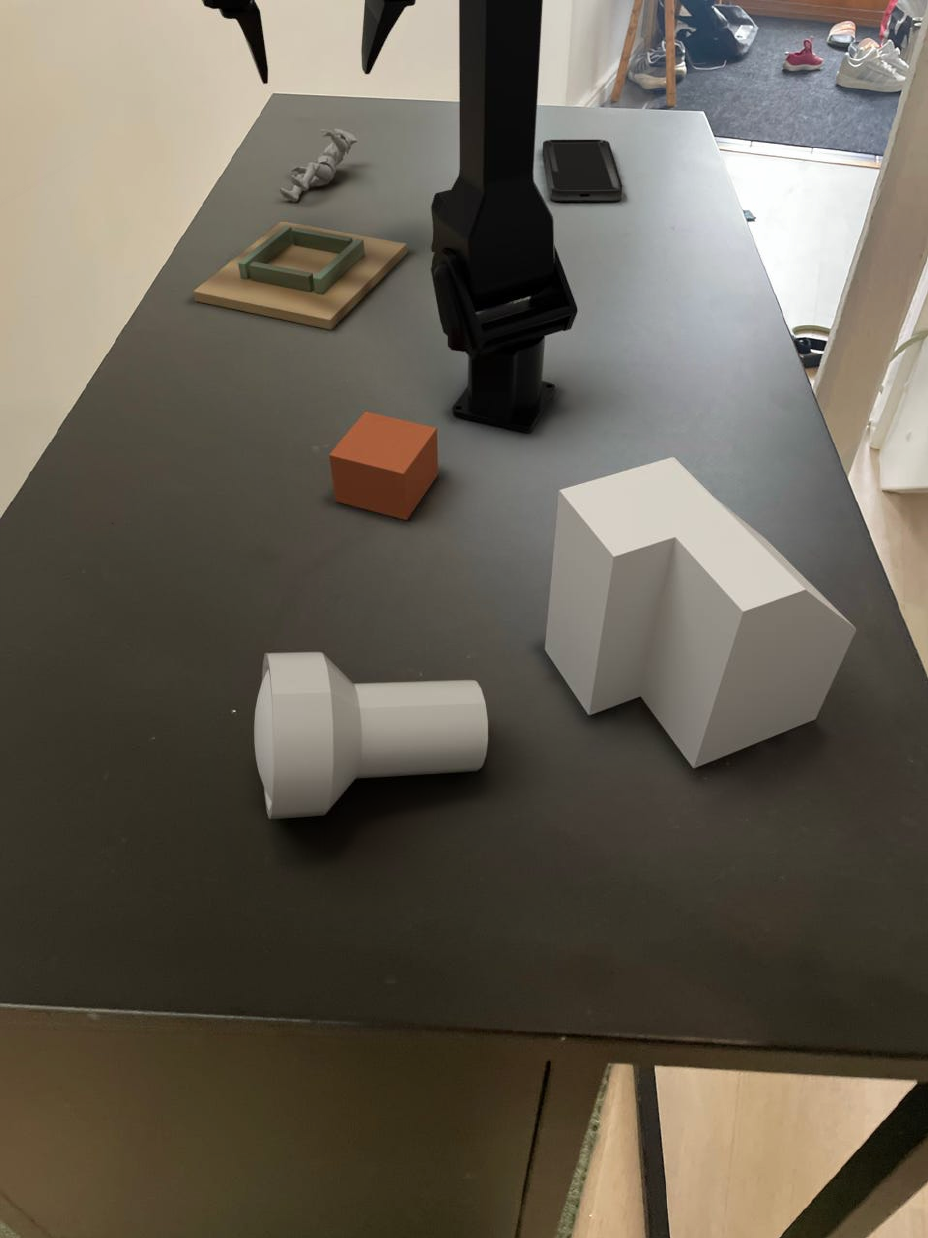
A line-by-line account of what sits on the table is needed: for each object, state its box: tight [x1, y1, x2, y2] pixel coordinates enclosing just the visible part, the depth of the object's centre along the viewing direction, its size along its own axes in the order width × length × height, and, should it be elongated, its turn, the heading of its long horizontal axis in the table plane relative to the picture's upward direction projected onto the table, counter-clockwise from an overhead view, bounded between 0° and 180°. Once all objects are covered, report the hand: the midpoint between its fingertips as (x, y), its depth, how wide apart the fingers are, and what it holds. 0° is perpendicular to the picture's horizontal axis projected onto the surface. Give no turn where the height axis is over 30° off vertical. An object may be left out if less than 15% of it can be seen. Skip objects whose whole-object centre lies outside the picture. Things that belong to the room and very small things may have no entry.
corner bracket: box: [544, 456, 857, 769], centre depth 48 cm, size 11×11×12 cm
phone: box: [541, 139, 623, 203], centre depth 102 cm, size 8×1×15 cm
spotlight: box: [253, 651, 489, 820], centre depth 46 cm, size 8×11×8 cm
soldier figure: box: [279, 128, 358, 203], centre depth 100 cm, size 8×5×12 cm
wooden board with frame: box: [192, 220, 408, 331], centre depth 86 cm, size 16×14×2 cm
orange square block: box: [328, 411, 439, 521], centre depth 63 cm, size 6×6×4 cm
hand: (315, 76), depth 80 cm, fingers open, 9 cm apart
